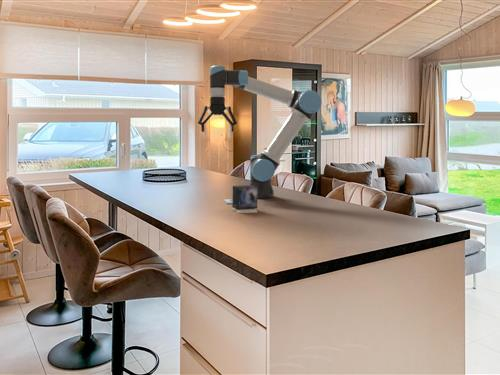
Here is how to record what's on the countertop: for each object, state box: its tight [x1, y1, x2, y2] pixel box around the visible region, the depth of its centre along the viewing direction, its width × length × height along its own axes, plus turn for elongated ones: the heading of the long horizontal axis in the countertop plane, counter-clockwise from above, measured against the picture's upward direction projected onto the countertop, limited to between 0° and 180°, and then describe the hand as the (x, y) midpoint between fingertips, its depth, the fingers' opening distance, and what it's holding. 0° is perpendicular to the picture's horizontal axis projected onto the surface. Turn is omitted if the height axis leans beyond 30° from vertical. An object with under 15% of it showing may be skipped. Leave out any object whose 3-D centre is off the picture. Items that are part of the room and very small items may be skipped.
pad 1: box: [222, 198, 233, 205], centre depth 246 cm, size 9×10×1 cm
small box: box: [231, 184, 258, 210], centre depth 223 cm, size 11×6×10 cm, turn 116°
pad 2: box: [231, 206, 258, 214], centre depth 224 cm, size 9×14×1 cm, turn 15°
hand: (217, 138), depth 248 cm, fingers open, 13 cm apart
